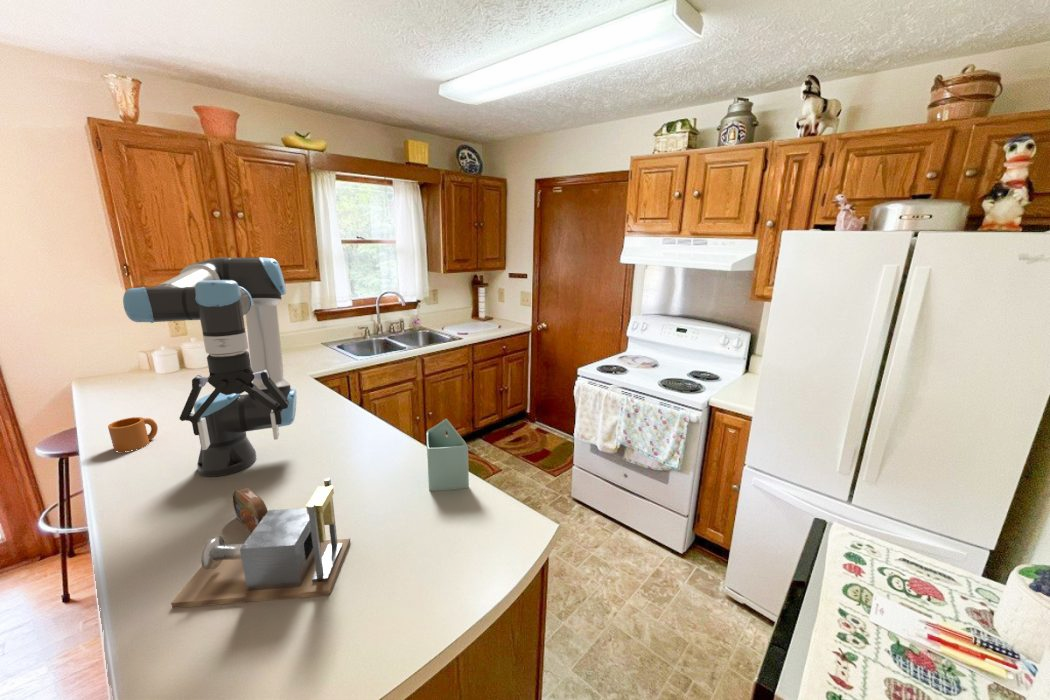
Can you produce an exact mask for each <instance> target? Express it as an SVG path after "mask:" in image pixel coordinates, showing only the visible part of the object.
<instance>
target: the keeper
mask: <svg viewBox="0 0 1050 700" xmlns="http://www.w3.org/2000/svg"><path fill="white" fill-rule="evenodd" d="M334 493H335V491H334V485H331V486H325V485H323V486H317V488H316V489H315V491H314V493H313V494H312V496H311V498H310V499H309V501H308V502H307V504H306V505H305V506H306V507H305V508H307V514H309V512H308V506H309V504H315V507H316V515H317V523H318V531H319V539H320V543H324V541H325V540H326V539H327V537H326V529H325V528H326V527H325V526H329V525H333V523H334V515H335V511H334V512H333V506H334V502H333V503H332V497H333V496H334Z"/></svg>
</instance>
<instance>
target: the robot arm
mask: <svg viewBox="0 0 1050 700" xmlns="http://www.w3.org/2000/svg"><path fill="white" fill-rule="evenodd" d="M286 293H287V289H286V284H285V279H284V275H283V272H282V269H281V267H280V263H279V261H277V260H276V259H274V258H271V257H260V256H259V257H256V256H255V257H253V256H252V257H225V256H224V257H223V256H222V257H214V258H208V259H204V260H200V261H197V262H194V263H191V264H189V265H186V266H185V267H184V268H183V269H181V271H180V272H179V275H176V276H174V277H171V278H170V279H168V280H166V281H165V282H164V281H163V282H162V283H160V284H158V285H156V286H153V287H145V286H141V287H132V288H128V289H126V290H125V291H124V294H123V297H122V302H123V309H124V311H125V314H126V316H127V318H128V319H129V320H131V321H132V322H135V323H150V324H153V323H162V322H163V323H165V322H180V321H200V326H201V332H202V338H203V342H204V349H205V353H206V354H208V355H207V357H206V362H207V366H208V371H209V372H208V373H209V375H208V376H202V375H201V374H198V375H195V376H194V378H192V380H191V390H190V393H189V395H188V397H187V400H186V402H185V404H184V407H183V409H182V411H181V413H180V416H179V417H178V419H179V420H180V421H182V422H184V421H187V422H190V423H191V426H192V430H193V434H194V436H198V438H199V444H200V450H199V455H198V460H197V463H196V465H197V471H198V474H200V475H201V476H203V477H221V476H226V475H227V476H228V475H230V474H234V473H237V472H240V471H243V470H245V469H247V468H249V467H250V466H251V465H253V464H254V463H255V462H256V460H257V458H256V457H257V452H256V449H255V448H254V446H253V444H252V443H251V441H250V440H249V438H248V437H247V436H248V435H247V432H253V431H259V430H265V429H272V436H273V440H274V441H275V440H278V439H279V437H280V431H279V428H283V427H285V426H286V427H287V426H290V425H292V424H293V423H294V422H295V419H296V414H297V413H296V412H297V390H296V389H295V388H292V387H291V383H290V382H288V381H287V380H286V379H285V374H284V372H285V371H284V364H283V356H282V355H283V353H282V344H281V336H280V327H279V326H280V324H279V317H278V316H279V315H278V305H279V304H280V303H281V301H282V296H284V295H286ZM244 316H245V318H244ZM245 320H246V321H245ZM245 322H246V327H245ZM246 330H247V331H246ZM248 350H249V351H248ZM207 383H208V384H209V385H210V386H211V387H213V388H214V390H213V391H212V392H211V393H210V394H207V395H205V396H203V397H201V398H199V399H198V397H199V395H200V393H201V391H202V388H203V387H205V386H206V385H207ZM243 393H247V394H243ZM193 409H194V410H193ZM192 411H194V413H192ZM254 461H255V462H254ZM253 462H254V463H253ZM252 463H253V464H252Z"/></svg>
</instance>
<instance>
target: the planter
mask: <svg viewBox="0 0 1050 700" xmlns="http://www.w3.org/2000/svg"><path fill="white" fill-rule="evenodd" d="M446 433H447V434H446ZM425 435H426V455H427V474H428V475H427V477H428V478H427V479H428V481H427V482H428V490H429V491H430V492H431V491H432V492H435V491H451V490H460V489H461V490H462V489H463V490H464V489H469V487H470V485H469V484H470V483H469V482H470V479H469V475H470V474H469V473H470V471H469V469H470V468H469V446H468V444H467V443H466V441H465V440H464V439H463V438H462V436H461V435H460V433H459V432H458V431H457V430H456V428H455V427H454V426H453V425H452V423H451V422H450V421H449V420H448V419H447V418H445V419H443V420H442V421H440V422H439V423H438V424H435V425H434V426H433V427H431V428H429V429H427V431H426V434H425Z"/></svg>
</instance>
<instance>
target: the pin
mask: <svg viewBox="0 0 1050 700" xmlns="http://www.w3.org/2000/svg"><path fill="white" fill-rule="evenodd" d="M244 543H245V542H243V543H231V544H230V543H228V544H227V543H226V540H225V539H224V538H223V537H220V536H217V537H211V538H210V539H209V540H208V541H207V542H206V543H205V545H204V547H203V550H202V553H201V559H200V561H201V566H203V568H204V569H206V570H207V569H215V568H217V567H218V566H219V565H220V563H221V562H222V560H236V559H242V558H241V552H240V548H241V547H242V545H243V544H244Z"/></svg>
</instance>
